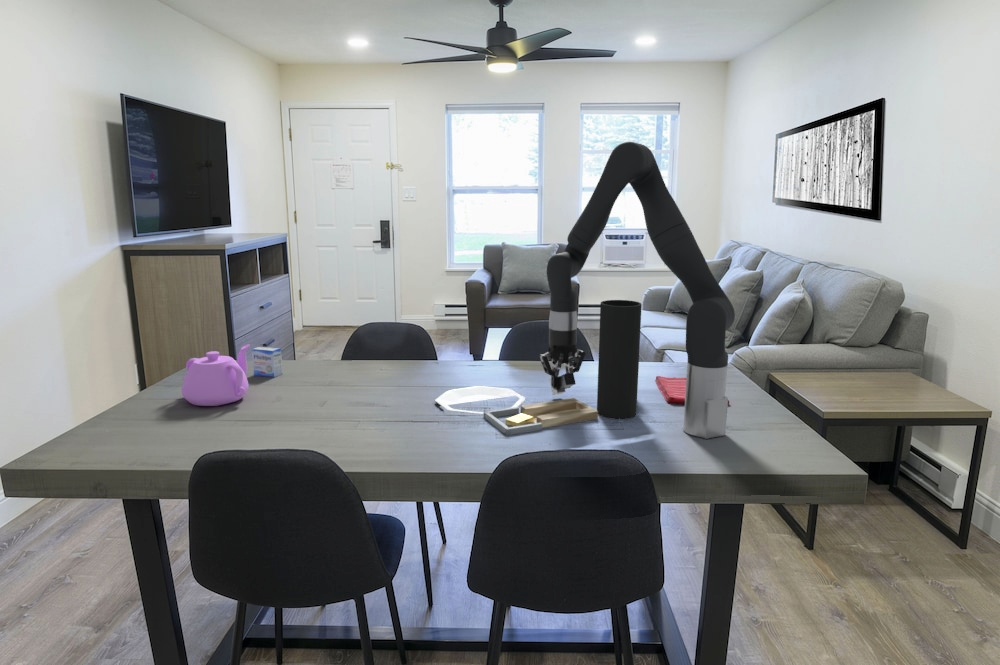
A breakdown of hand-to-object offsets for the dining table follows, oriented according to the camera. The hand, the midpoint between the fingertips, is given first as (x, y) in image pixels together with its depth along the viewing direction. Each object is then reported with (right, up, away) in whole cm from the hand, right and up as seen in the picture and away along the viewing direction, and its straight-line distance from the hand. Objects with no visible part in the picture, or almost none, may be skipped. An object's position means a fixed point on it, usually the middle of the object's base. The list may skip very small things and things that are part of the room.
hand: (561, 387), depth 181 cm
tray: (-14, -8, -17) cm, 24 cm away
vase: (+13, -7, -9) cm, 18 cm away
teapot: (-96, -4, +6) cm, 96 cm away
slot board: (-2, -7, -12) cm, 14 cm away
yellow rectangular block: (-13, -8, -18) cm, 24 cm away
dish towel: (+39, -3, +12) cm, 41 cm away
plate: (-22, -5, +2) cm, 23 cm away
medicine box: (-91, +1, +29) cm, 96 cm away
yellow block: (-11, -8, -16) cm, 21 cm away
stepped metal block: (-2, 0, +3) cm, 4 cm away
